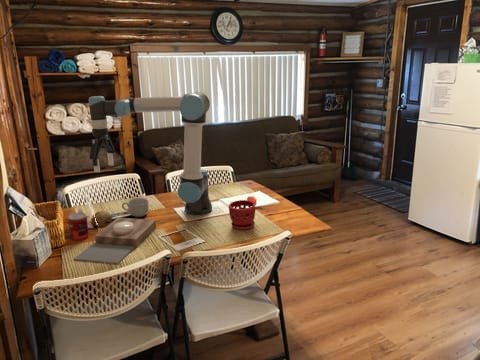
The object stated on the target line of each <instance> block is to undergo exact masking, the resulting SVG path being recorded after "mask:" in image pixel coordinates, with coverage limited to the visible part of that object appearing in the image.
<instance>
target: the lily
mask: <svg viewBox="0 0 480 360" xmlns="http://www.w3.org/2000/svg"><path fill="white" fill-rule="evenodd" d="M77 213H84V211H83V209H82V208H81V207H79V208H78V210H77ZM71 214H72V213H69V215H71ZM86 216H87V224H88V229H94V225H93V224H92V222H90V221H89V219H91V218H90V217H91V215H86Z"/></svg>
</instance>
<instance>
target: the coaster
mask: <svg viewBox="0 0 480 360" xmlns="http://www.w3.org/2000/svg"><path fill="white" fill-rule="evenodd" d="M113 230H114V233H116V234H127V233H130V232H132V231H133V230H134V227H133V223H132V222H119V223H116V224H114V225H113Z"/></svg>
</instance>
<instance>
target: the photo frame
mask: <svg viewBox="0 0 480 360" xmlns="http://www.w3.org/2000/svg"><path fill="white" fill-rule="evenodd" d="M182 231H185V232H187V233H188V232H189V233H188V234H190V235H191V234H192V235H191V236H193V235H194V236H193V237H194V238H193V239H190V240H186V241H183V242H181V243H177V244H174V245H173V244H172V243H169V242H168V241H167V240H165V239H164V238H163V237H165V236H168V235H169V236H170V235H171V234H175V233H178V232H182ZM196 237H197V238H196ZM158 239H159V240H161V241H162V242H163V243H165V244H166V243H167V245H168V246H169V247H170V248H174V250H175V251H176V252H180V251H184V250H185V249H186V250H187V249H190V248H192V247H194V246H193V245H195V246H197V245H196V244H198V245H200V244H199V243H201V244H204V243H203V242H205V243H206V240H205V239H202V237H200V236H198V235H196V234H195V233H193V232H191V231H190V230H188V229H187V228H182V229H179V230H177V231H176V230H175V231H172V232H169V233H166V234H163V235H159V236H158ZM191 246H192V247H191Z"/></svg>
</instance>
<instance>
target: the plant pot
mask: <svg viewBox="0 0 480 360" xmlns="http://www.w3.org/2000/svg"><path fill="white" fill-rule="evenodd" d="M247 207H248V208H247ZM228 212H229V218H230V220H231V226H232V227H233V228H234V229H235V230H238V231H239V230H241V231H246V230H249V229H251V228H253V227H254V226H255V223H256V222H255V221H254V220H255V217H256V204H255V202H254V201H251V200H248V199H247V200H246V199H241V200H234V201H231V202H230V203H229V204H228Z"/></svg>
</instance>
